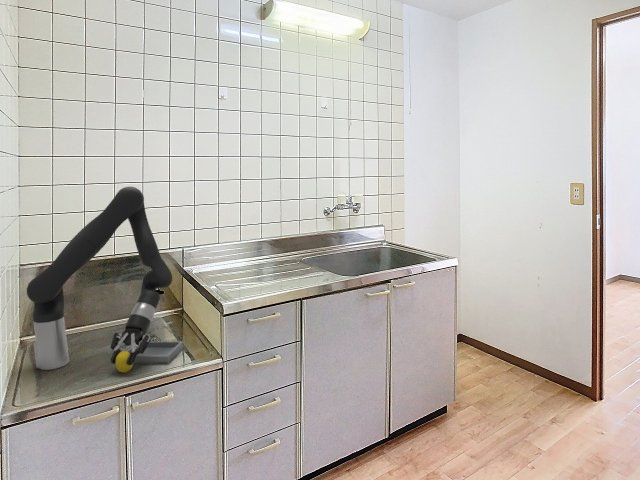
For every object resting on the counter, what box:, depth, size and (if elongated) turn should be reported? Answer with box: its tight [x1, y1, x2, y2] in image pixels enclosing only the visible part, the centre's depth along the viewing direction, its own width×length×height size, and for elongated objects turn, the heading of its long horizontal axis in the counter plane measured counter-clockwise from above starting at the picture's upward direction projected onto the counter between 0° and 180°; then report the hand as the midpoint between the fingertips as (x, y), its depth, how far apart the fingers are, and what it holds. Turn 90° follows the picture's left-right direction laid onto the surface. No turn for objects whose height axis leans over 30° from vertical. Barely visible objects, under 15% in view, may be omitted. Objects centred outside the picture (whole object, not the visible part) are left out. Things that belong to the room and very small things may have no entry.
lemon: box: [115, 350, 134, 374], centre depth 144 cm, size 6×6×8 cm
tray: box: [125, 340, 185, 366], centre depth 158 cm, size 18×14×3 cm
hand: (120, 363), depth 142 cm, fingers closed on lemon, 5 cm apart
